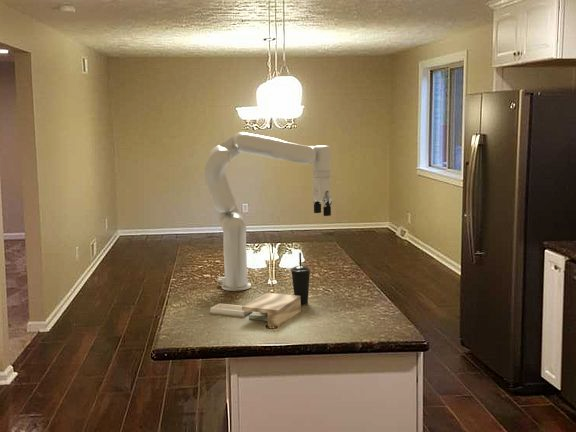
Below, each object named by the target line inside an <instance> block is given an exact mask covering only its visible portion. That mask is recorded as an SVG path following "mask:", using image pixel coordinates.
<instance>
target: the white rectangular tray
mask: <svg viewBox="0 0 576 432" xmlns="http://www.w3.org/2000/svg"><path fill="white" fill-rule="evenodd" d="M242 306H243V305H238V304H228V303H217V304H215V305H213V306H211V307H210V308H209V313H210V314H213V315H220V316H230V317H239V318H241V317H242V318H244V317H246V316H247V315H250V314H251V313H252V311H242Z"/></svg>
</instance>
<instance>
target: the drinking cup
mask: <svg viewBox="0 0 576 432" xmlns="http://www.w3.org/2000/svg"><path fill="white" fill-rule="evenodd" d="M298 254H299V255H298V257H299V265H296V266H293V267H291V268H290V272H291V278H292V279H291V280H292V287H293V295H297V296H300V298H301V306H304V305H305V306H306V305H308V304H309V303H308V302H309V291H310V287H309V286H310V277H311V276H310V274H311V268H310V267H309V266H306V265H302V252H299V253H298Z"/></svg>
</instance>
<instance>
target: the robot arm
mask: <svg viewBox="0 0 576 432" xmlns="http://www.w3.org/2000/svg"><path fill="white" fill-rule="evenodd" d="M331 152H332V151H331V147H330V146H329V145H325V144H324V145H306V144H305V145H304V144H299V143H294V142H288V141H285V140H282V139H279V138H275V137H271V136H266V135H260V134H256V133H249V132H245V131H239V132H237V133H235V134H233V135H232V136H230V137H229V138H227V139H226V140H224V141H222V142H221V143H219V144H217V145H216V146H214V147H213V148H212V149H211V150H210V152H209V157H208V159H207V160H206V163H205V166H204V173H203V174H204V178H205V181H206V184H207V188H208V191H209V194H210V196H211V199H210V200H211V203H212V204H211V205H212V208H213V210H214V211H215V215H216V217H217V220H218V222H219V224H220V227H221V228H222V232H223V237H222V238H223V242H222V243H223V247H222V248H223V262H224V266H223V267H224V276H217V282H218V283H222V284H221V289H222V290H224V291H229V292H238V291H239V292H240V291H245V290H249V289H250V288H252V284H251V282H248V262H247V259H248V258H247V223H246V220H245V219H244V218H243V217H242V215H241V214H240V211H239V209H238V206H237V204H236V197H235V195H234V193H233V192H232V188H231V187H230V184H229V181H228V179H227V175H226V170H227V167H228V166H229V164H230V163H231V161H232V160H234V159H236V158H237V157H238V156H240V155H241V154H247V155H252V156H257V157H258V156H259V157H263V158H268V159H272V160H282V161H287V162H291V163H298V164H302V165H310V164H312V169H313V170H312V187H311V188H312V189H311V192H312V193H311V199H312V200H313V213H314V214H321V213H323V216H324V217H330V216H332V201H333V197H332V184H331V179H332V178H331V177H332V176H331V175H332V171H331V167H332V164H331V162H332V161H331V159H332V157H331V155H332V154H331ZM322 203H323V212H322Z"/></svg>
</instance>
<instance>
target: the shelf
mask: <svg viewBox="0 0 576 432" xmlns="http://www.w3.org/2000/svg"><path fill="white" fill-rule="evenodd" d="M241 306H242V311H252V312H254V313H263V314H267V316H264V315H255V314H248V315H249V317H248V319H250V320H257V321H267V326H269V327H276V328H277V327H278V328H279V327H280V326H282V325H283V324H285V323H286V322H287V321H289V320H291V319H292V318H293V317H295V316H296V315H297V314H300V312H302V311H301V310H302V308H301V307H302V305H301V298H300V296H297V295H294V294H286V293H285V294H283V293H274V292H273V293H271V292H265V293H263V294H262V295H260V296H258V297H257V298H255V299H253V300H251V301H250V302H248V303H246V304H244V305H241ZM252 312H251V313H252Z"/></svg>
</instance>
